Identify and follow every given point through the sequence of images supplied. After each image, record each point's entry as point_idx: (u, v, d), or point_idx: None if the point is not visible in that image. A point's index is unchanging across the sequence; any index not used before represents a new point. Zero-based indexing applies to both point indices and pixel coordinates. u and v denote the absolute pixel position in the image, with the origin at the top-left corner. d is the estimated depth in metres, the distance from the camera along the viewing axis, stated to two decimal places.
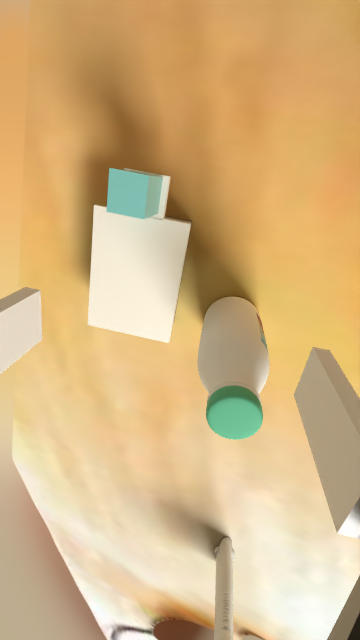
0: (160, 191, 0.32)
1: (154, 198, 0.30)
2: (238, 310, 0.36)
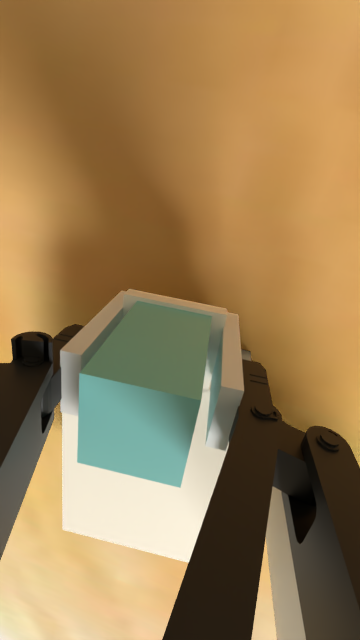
0: None
1: None
2: None
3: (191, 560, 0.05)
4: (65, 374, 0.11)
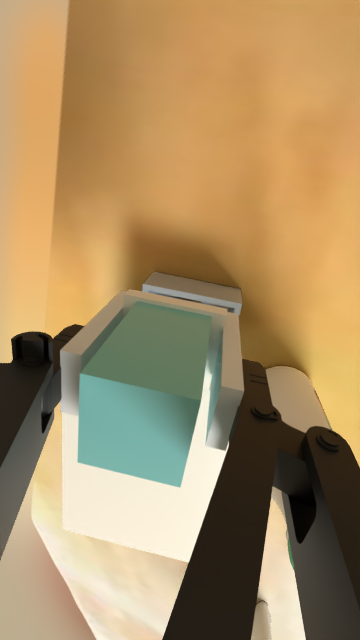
0: None
1: None
2: (297, 392, 0.32)
3: (191, 560, 0.05)
4: (65, 374, 0.11)
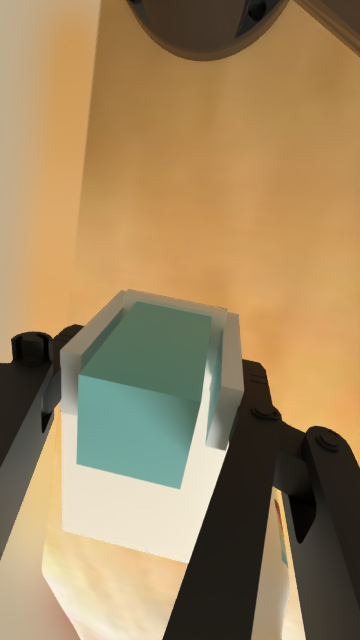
0: None
1: None
2: None
3: (191, 560, 0.05)
4: (65, 374, 0.11)
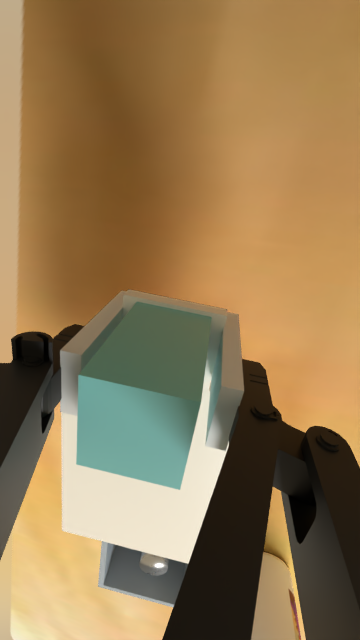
0: None
1: None
2: (269, 609, 0.31)
3: (191, 560, 0.05)
4: (65, 374, 0.11)
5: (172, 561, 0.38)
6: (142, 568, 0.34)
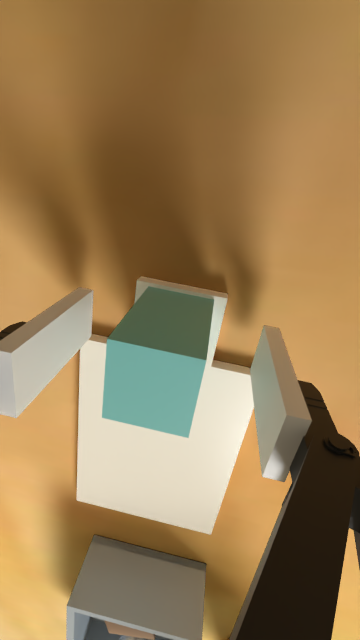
0: None
1: None
2: None
3: (254, 595, 0.05)
4: None
5: None
6: None
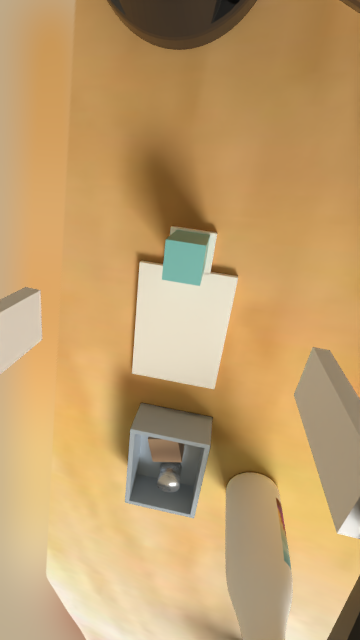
0: (208, 248, 0.31)
1: (205, 259, 0.30)
2: (259, 507, 0.39)
3: None
4: None
5: (183, 486, 0.46)
6: (158, 482, 0.43)
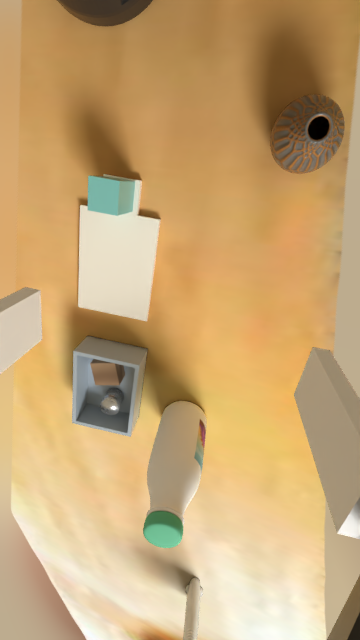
0: (133, 193, 0.38)
1: (127, 199, 0.37)
2: (182, 422, 0.46)
3: None
4: None
5: (125, 414, 0.54)
6: (103, 402, 0.49)
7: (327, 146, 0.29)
